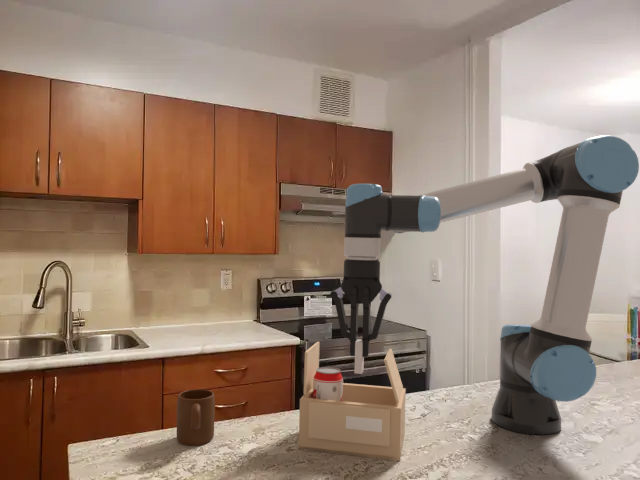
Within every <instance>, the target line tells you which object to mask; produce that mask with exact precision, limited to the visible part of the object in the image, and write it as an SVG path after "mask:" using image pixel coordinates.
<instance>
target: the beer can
mask: <svg viewBox="0 0 640 480" xmlns="http://www.w3.org/2000/svg"><path fill="white" fill-rule="evenodd" d="M341 371H342V370H341V369H340V368H337V367H332V366H322V367H320V366H319V368H317V369H316V374H315V375H314V378H313V399H324V400H335V401H342V396H343V383H344V378H343V375H342V373H341Z"/></svg>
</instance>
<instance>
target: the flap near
mask: <svg viewBox="0 0 640 480" xmlns="http://www.w3.org/2000/svg"><path fill="white" fill-rule="evenodd" d="M383 362H384V365H385V370H386V371H387V376H388V379H389V382H390V387H392V389H393V392H394V396H395V399H396V402H397V403H398V402H399V401H400V397H401V393H402V389H403V388H404V385H403V382H402V380H401V375H400V372H399V368H398V366H397V362H396V359H395V355H394V352H393V348H389V349H388V350H387V353H386V355H385V357H384V359H383Z"/></svg>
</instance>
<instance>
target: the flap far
mask: <svg viewBox="0 0 640 480" xmlns="http://www.w3.org/2000/svg"><path fill="white" fill-rule="evenodd" d="M320 345H321V344H320V341H316V342H315V343H314V344H313V345H312V346H310V347H309V348H308V349H306V350H305V352H304V368H303V369H304V373H303V395H304V394H307V392H308V391H309V390H310V389H311V388H312V387H313V378H314V375H315V374H316V369H317V368H320Z"/></svg>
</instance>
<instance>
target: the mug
mask: <svg viewBox="0 0 640 480" xmlns="http://www.w3.org/2000/svg"><path fill="white" fill-rule="evenodd" d="M215 401H216V400H215V393H214V392H213V391H212V390H209V389H202V388H201V389H199V388H198V389H197V388H196V389H188V390H184V391H181V392H179V393H178V395H177V401H176V440H177V442H178V443H179V444H181V445H184V446H188V447H189V446H191V447H193V446H201V445H205V444H208V443H209V442H211V441H212V440H213V439H214V436H215V435H214V434H215V414H216V413H215V409H216V408H215V406H216V405H215V403H216V402H215Z"/></svg>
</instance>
